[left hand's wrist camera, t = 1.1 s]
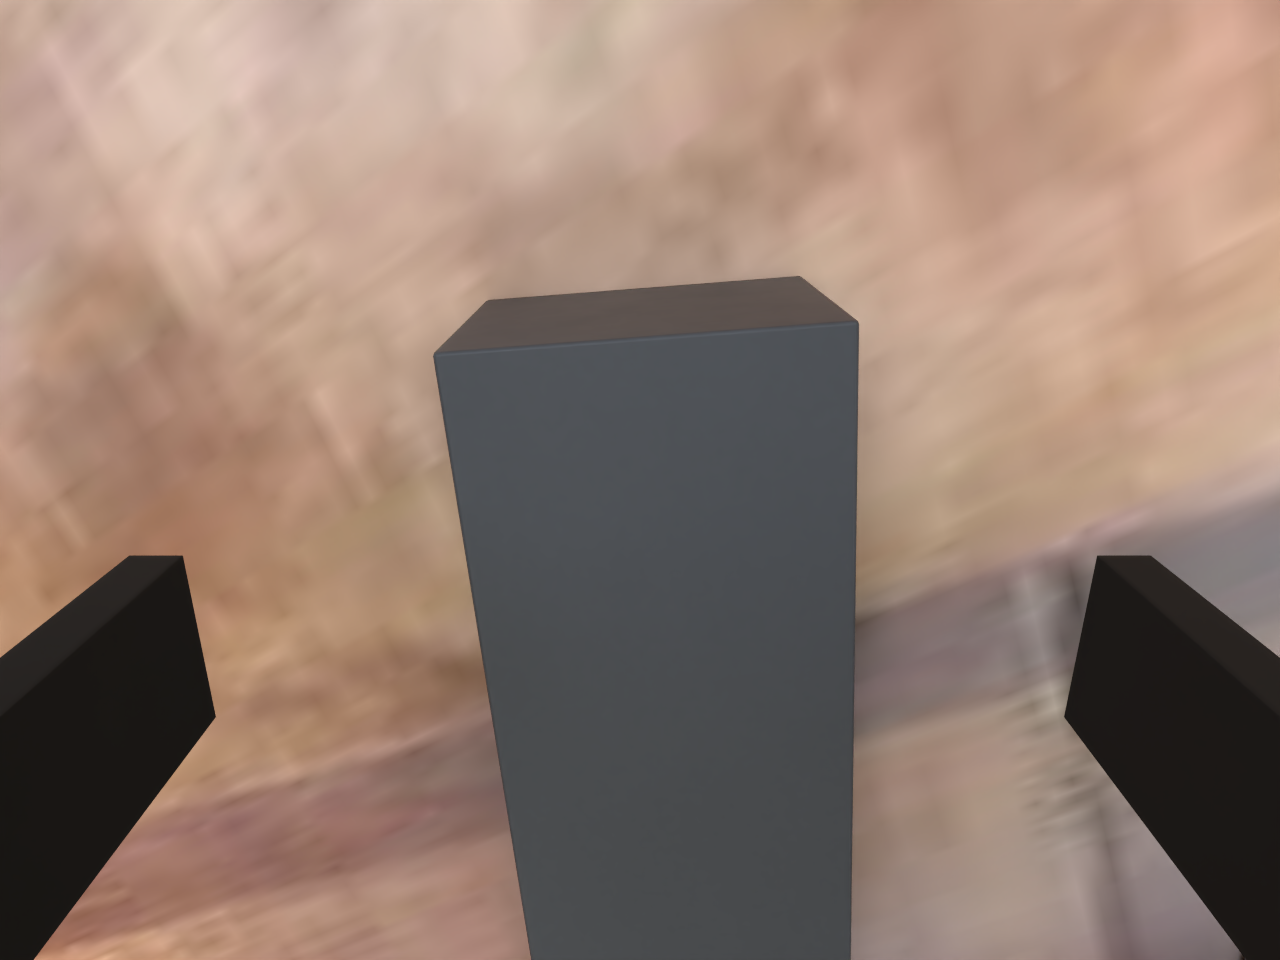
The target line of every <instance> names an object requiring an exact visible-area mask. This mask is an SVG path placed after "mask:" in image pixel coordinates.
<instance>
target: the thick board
mask: <svg viewBox="0 0 1280 960" xmlns="http://www.w3.org/2000/svg"><path fill="white" fill-rule="evenodd" d="M433 358H434V364H435V370H436V376H437V382H438V389H439V395H440V401H441V407H442V413H443V419H444V425H445V432H446V438H447V444H448V450H449V456H450V462H451V469H452V475H453V481H454V487H455V493H456V499H457V505H458V512H459V518H460V524H461V530H462V536H463V542H464V548H465V555H466V561H467V567H468V573H469V579H470V585H471V592H472V598H473V604H474V610H475V616H476V622H477V628H478V635H479V641H480V647H481V653H482V659H483V665H484V672H485V678H486V684H487V690H488V696H489V702H490V708H491V715H492V721H493V727H494V733H495V739H496V745H497V752H498V758H499V764H500V770H501V776H502V782H503V788H504V795H505V801H506V807H507V813H508V819H509V825H510V831H511V838H512V844H513V850H514V856H515V862H516V868H517V875H518V881H519V887H520V893H521V899H522V905H523V911H524V918H525V924H526V930H527V936H528V942H529V948H530V955H531V960H851V889H852V813H853V738H854V662H855V587H856V511H857V436H858V360H859V323H858V321H857V320H856V319H854V318H853V317H852V316H850V315H849V314H848V313H847V312H845V311H844V310H843V309H842V308H840V307H839V306H838V305H836V304H835V303H834V302H833V301H831V300H830V299H829V298H827V297H826V296H825V295H824V294H822V293H821V292H820V291H818V290H817V289H816V288H815V287H813V286H812V285H811V284H810V283H808V282H807V281H806V280H804V279H803V278H802V277H800V276H796V277H783V278H770V279H757V280H744V281H731V282H718V283H705V284H692V285H679V286H666V287H653V288H640V289H627V290H614V291H601V292H588V293H575V294H562V295H549V296H536V297H523V298H510V299H498V300H488V301H486V302H485V303H484V304H483V305H482V306H481V307H480V308H479V309H478V310H477V311H476V312H475V313H474V314H473V315H472V316H471V317H470V318H469V319H468V320H467V321H466V322H465V323H464V324H463V325H462V326H461V327H460V328H459V329H458V330H457V331H456V332H455V333H454V334H453V335H452V336H451V337H450V338H449V339H448V340H447V341H446V342H445V343H444V344H443V345H442V346H441V347H440V348H439V349H438V350H437V351H436V352H435V353H434V355H433Z"/></svg>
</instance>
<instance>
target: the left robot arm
mask: <svg viewBox="0 0 1280 960" xmlns="http://www.w3.org/2000/svg"><path fill="white" fill-rule="evenodd" d="M215 717H216V716H215V711H214V706H213V701H212V696H211V691H210V686H209V682H208V677H207V672H206V667H205V662H204V657H203V652H202V647H201V642H200V638H199V633H198V628H197V623H196V618H195V613H194V608H193V603H192V599H191V594H190V589H189V584H188V579H187V574H186V569H185V564H184V560H183V556H128V557H127V558H126V559H125V560H123V561H122V562H121V563H119V564H118V565H117V566H116V567H114V568H113V569H112V570H111V571H109V572H108V573H107V574H106V575H104V576H103V577H102V578H100V579H99V580H98V581H97V582H95V583H94V584H93V585H92V586H90V587H89V588H88V589H87V590H85V591H84V592H83V593H82V594H80V595H79V596H78V597H76V598H75V599H74V600H73V601H71V602H70V603H69V604H68V605H66V606H65V607H64V608H63V609H61V610H60V611H59V612H57V613H56V614H55V615H54V616H52V617H51V618H50V619H49V620H47V621H46V622H45V623H44V624H42V625H41V626H40V627H39V628H37V629H36V630H35V631H33V632H32V633H31V634H30V635H28V636H27V637H26V638H25V639H23V640H22V641H21V642H20V643H18V644H17V645H16V646H14V647H13V648H12V649H11V650H9V651H8V652H7V653H6V654H4V655H3V656H2V657H1V658H0V960H34V958H35V957H36V956H37V954H38V953H39V952H40V950H41V949H42V948H43V946H44V945H45V944H46V942H47V941H48V940H49V938H50V937H51V936H52V934H53V933H54V932H55V930H56V929H57V928H58V926H59V925H60V924H61V922H62V921H63V920H64V918H65V917H66V916H67V914H68V913H69V912H70V910H71V909H72V908H73V906H74V905H75V904H76V902H77V901H78V900H79V898H80V897H81V896H82V894H83V893H84V892H85V890H86V889H87V888H88V887H89V885H90V884H91V883H92V881H93V880H94V879H95V877H96V876H97V875H98V873H99V872H100V871H101V869H102V868H103V867H104V865H105V864H106V863H107V861H108V860H109V859H110V857H111V856H112V855H113V853H114V852H115V851H116V849H117V848H118V847H119V845H120V844H121V843H122V841H123V840H124V839H125V837H126V836H127V835H128V833H129V832H130V831H131V829H132V828H133V827H134V825H135V824H136V823H137V821H138V820H139V819H140V817H141V816H142V815H143V813H144V812H145V811H146V809H147V808H148V807H149V805H150V804H151V803H152V801H153V800H154V799H155V797H156V796H157V795H158V793H159V792H160V791H161V789H162V788H163V787H164V785H165V784H166V783H167V781H168V780H169V779H170V777H171V776H172V775H173V773H174V772H175V771H176V769H177V768H178V767H179V765H180V764H181V763H182V761H183V760H184V759H185V757H186V756H187V755H188V753H189V752H190V751H191V749H192V748H193V747H194V745H195V744H196V743H197V741H198V740H199V739H200V737H201V736H202V735H203V733H204V732H205V731H206V729H207V728H208V727H209V725H210V724H211V723H212V721H213V720H214V719H215ZM1064 717H1065V719H1066V720H1067V721H1068V723H1069V724H1070V725H1071V727H1072V728H1073V729H1074V731H1075V732H1076V733H1077V735H1078V736H1079V737H1080V739H1081V740H1082V741H1083V743H1084V744H1085V745H1086V747H1087V748H1088V749H1089V751H1090V752H1091V753H1092V755H1093V756H1094V757H1095V759H1096V760H1097V761H1098V763H1099V764H1100V765H1101V767H1102V768H1103V769H1104V771H1105V772H1106V773H1107V775H1108V776H1109V777H1110V779H1111V780H1112V781H1113V783H1114V784H1115V785H1116V787H1117V788H1118V789H1119V791H1120V792H1121V793H1122V795H1123V796H1124V797H1125V799H1126V800H1127V801H1128V803H1129V804H1130V805H1131V807H1132V808H1133V809H1134V811H1135V812H1136V813H1137V815H1138V816H1139V817H1140V819H1141V820H1142V821H1143V823H1144V824H1145V825H1146V827H1147V828H1148V829H1149V831H1150V832H1151V833H1152V835H1153V836H1154V837H1155V839H1156V840H1157V841H1158V843H1159V844H1160V845H1161V847H1162V848H1163V849H1164V851H1165V852H1166V853H1167V855H1168V856H1169V857H1170V859H1171V860H1172V861H1173V863H1174V864H1175V865H1176V867H1177V868H1178V869H1179V871H1180V872H1181V873H1182V875H1183V876H1184V877H1185V879H1186V880H1187V881H1188V883H1189V884H1190V885H1191V887H1192V888H1193V889H1194V890H1195V892H1196V893H1197V894H1198V896H1199V897H1200V898H1201V900H1202V901H1203V902H1204V904H1205V905H1206V906H1207V908H1208V909H1209V910H1210V912H1211V913H1212V914H1213V916H1214V917H1215V918H1216V920H1217V921H1218V922H1219V924H1220V925H1221V926H1222V928H1223V929H1224V930H1225V932H1226V933H1227V934H1228V936H1229V937H1230V938H1231V940H1232V941H1233V942H1234V944H1235V945H1236V946H1237V948H1238V949H1239V950H1240V952H1241V953H1242V954H1243V956H1244V957H1245V960H1280V658H1279V657H1278V656H1277V655H1276V654H1274V653H1273V652H1272V651H1271V650H1269V649H1268V648H1267V647H1266V646H1264V645H1263V644H1262V643H1260V642H1259V641H1258V640H1257V639H1255V638H1254V637H1253V636H1252V635H1250V634H1249V633H1248V632H1247V631H1245V630H1244V629H1243V628H1241V627H1240V626H1239V625H1238V624H1236V623H1235V622H1234V621H1233V620H1231V619H1230V618H1229V617H1228V616H1226V615H1225V614H1224V613H1223V612H1221V611H1220V610H1219V609H1217V608H1216V607H1215V606H1214V605H1212V604H1211V603H1210V602H1209V601H1207V600H1206V599H1205V598H1204V597H1202V596H1201V595H1200V594H1198V593H1197V592H1196V591H1195V590H1193V589H1192V588H1191V587H1190V586H1188V585H1187V584H1186V583H1185V582H1183V581H1182V580H1181V579H1180V578H1178V577H1177V576H1176V575H1174V574H1173V573H1172V572H1171V571H1169V570H1168V569H1167V568H1166V567H1164V566H1163V565H1162V564H1161V563H1159V562H1158V561H1157V560H1155V559H1154V558H1153V557H1152V556H1097V560H1096V564H1095V569H1094V574H1093V579H1092V584H1091V589H1090V594H1089V599H1088V603H1087V608H1086V613H1085V618H1084V623H1083V628H1082V633H1081V638H1080V642H1079V647H1078V652H1077V657H1076V662H1075V667H1074V672H1073V677H1072V682H1071V686H1070V691H1069V696H1068V701H1067V706H1066V711H1065V716H1064Z"/></svg>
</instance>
